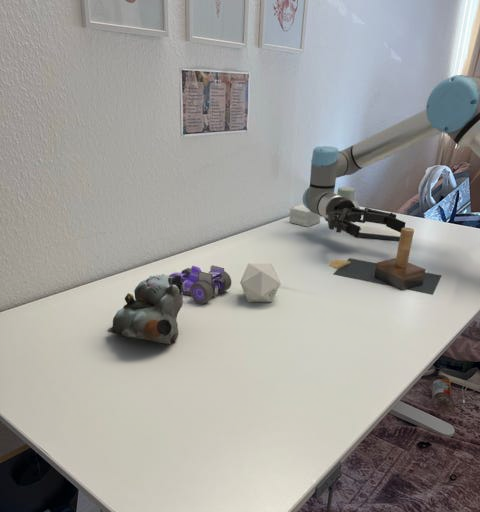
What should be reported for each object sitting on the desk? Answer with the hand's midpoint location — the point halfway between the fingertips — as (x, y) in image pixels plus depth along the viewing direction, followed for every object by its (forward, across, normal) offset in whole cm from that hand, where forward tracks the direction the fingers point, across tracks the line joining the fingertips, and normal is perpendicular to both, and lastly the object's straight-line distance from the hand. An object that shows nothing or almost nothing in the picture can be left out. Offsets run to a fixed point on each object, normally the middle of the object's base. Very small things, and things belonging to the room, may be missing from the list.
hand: (381, 230), depth 120 cm
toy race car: (-2, +48, -11) cm, 50 cm away
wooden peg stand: (+10, 0, -10) cm, 14 cm away
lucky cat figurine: (+16, +62, -11) cm, 65 cm away
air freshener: (-50, -21, -11) cm, 55 cm away
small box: (-47, -4, -11) cm, 48 cm away
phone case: (-26, -21, -11) cm, 35 cm away
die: (+7, +36, -11) cm, 38 cm away
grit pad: (-5, +8, -10) cm, 14 cm away
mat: (+5, 0, -11) cm, 12 cm away
